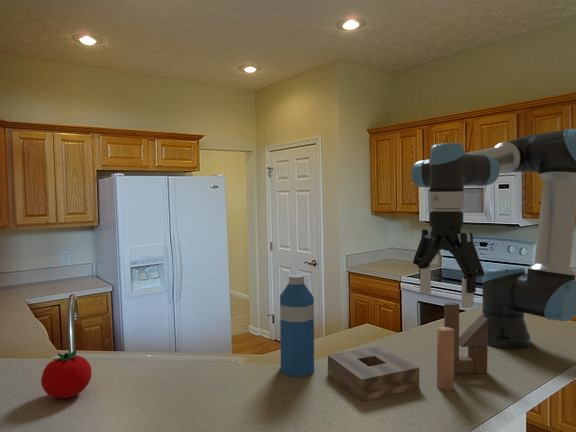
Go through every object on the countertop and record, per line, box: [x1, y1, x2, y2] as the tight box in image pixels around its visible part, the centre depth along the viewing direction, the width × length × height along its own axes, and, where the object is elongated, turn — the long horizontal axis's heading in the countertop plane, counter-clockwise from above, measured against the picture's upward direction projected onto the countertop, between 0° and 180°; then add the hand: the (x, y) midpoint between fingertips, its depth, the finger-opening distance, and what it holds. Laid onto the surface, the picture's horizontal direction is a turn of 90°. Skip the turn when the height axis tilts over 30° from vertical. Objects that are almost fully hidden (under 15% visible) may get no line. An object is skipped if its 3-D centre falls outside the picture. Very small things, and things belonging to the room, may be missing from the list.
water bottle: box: [279, 274, 315, 377], centre depth 111 cm, size 9×9×25 cm
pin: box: [436, 326, 455, 392], centre depth 100 cm, size 4×4×14 cm
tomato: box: [40, 350, 93, 399], centre depth 98 cm, size 10×10×10 cm
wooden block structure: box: [443, 301, 489, 375], centre depth 109 cm, size 4×11×18 cm, turn 95°
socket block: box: [327, 345, 420, 402], centre depth 104 cm, size 16×16×5 cm
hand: (445, 300), depth 99 cm, fingers open, 13 cm apart
